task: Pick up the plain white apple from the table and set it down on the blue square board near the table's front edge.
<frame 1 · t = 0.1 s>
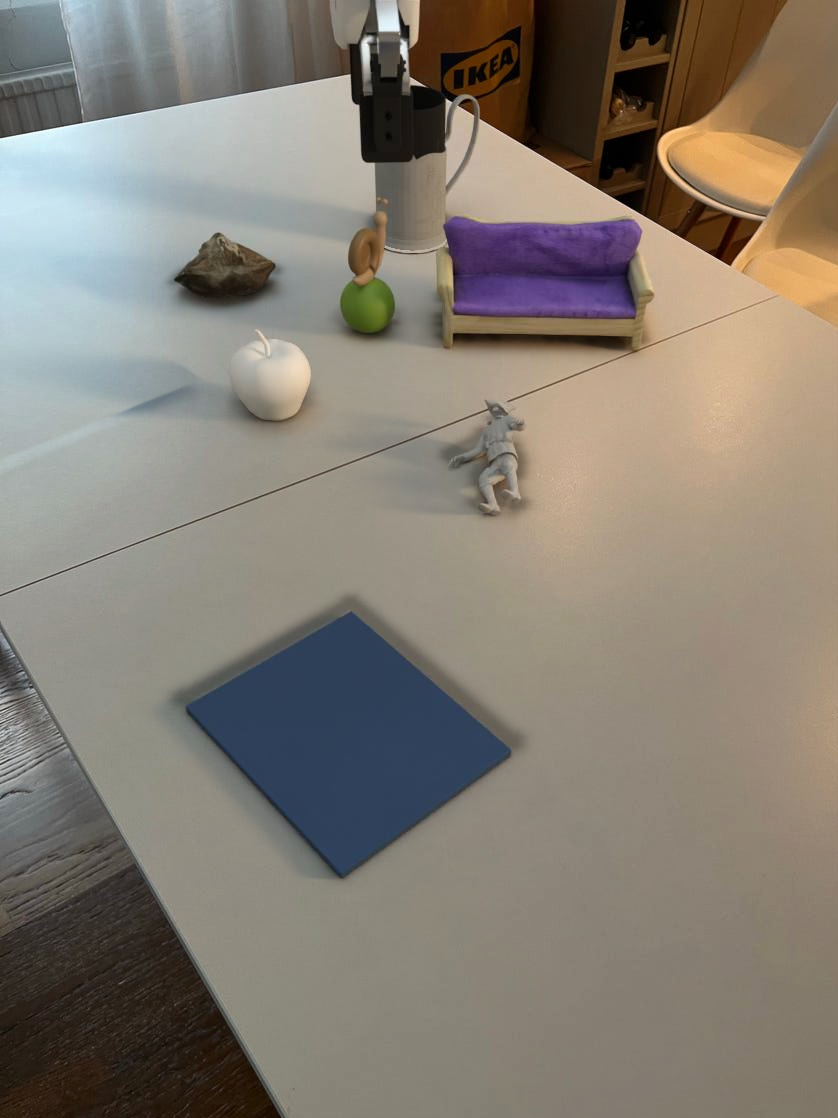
hand: (380, 130, 68), 28 cm above the table, tool pointing down, fingers open, 9 cm apart
toy sofa: (537, 331, 106), on the table
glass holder: (428, 231, 121), on the table
snail figurine: (371, 328, 105), on the table
blue square board: (347, 733, 69), on the table
dark brown rough lump: (229, 292, 109), on the table
plain white apple: (274, 411, 94), on the table
soldier figure: (496, 477, 89), on the table
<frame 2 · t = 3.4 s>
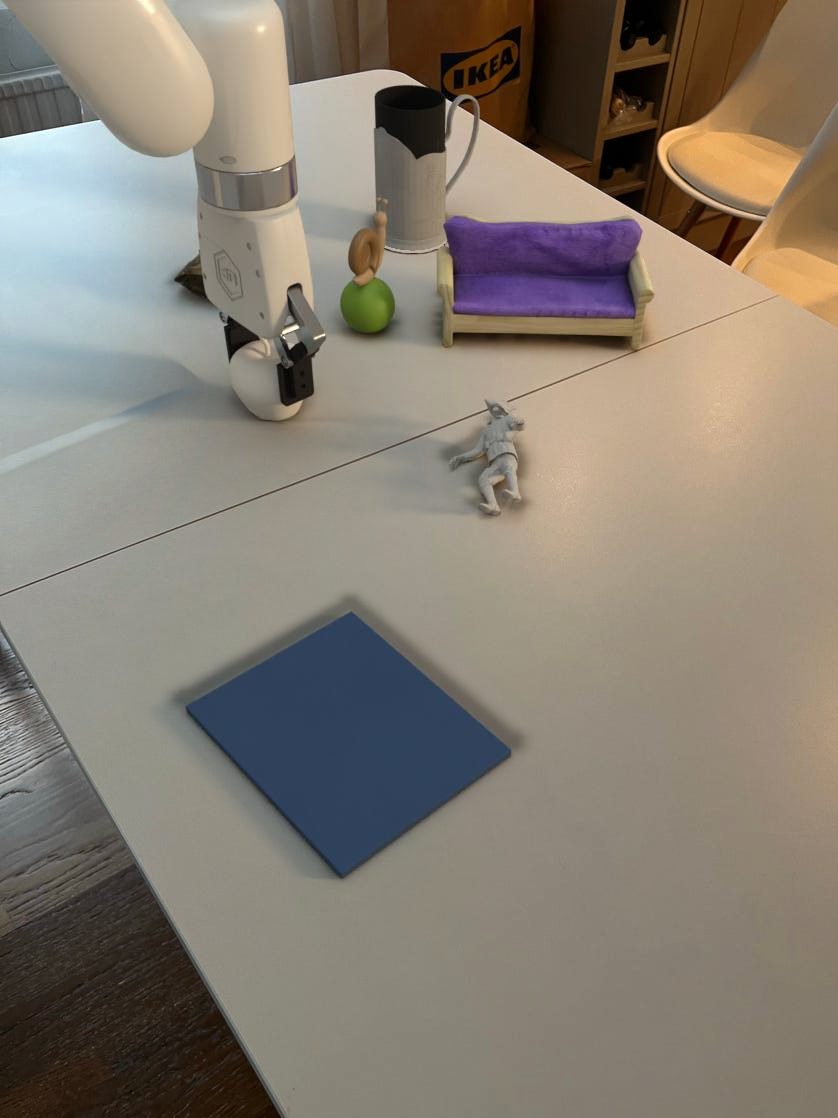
hand: (271, 379, 92), 3 cm above the table, tool pointing down, fingers closed on plain white apple, 7 cm apart
plain white apple: (274, 411, 94), on the table, touching gripper
everything else where it was.
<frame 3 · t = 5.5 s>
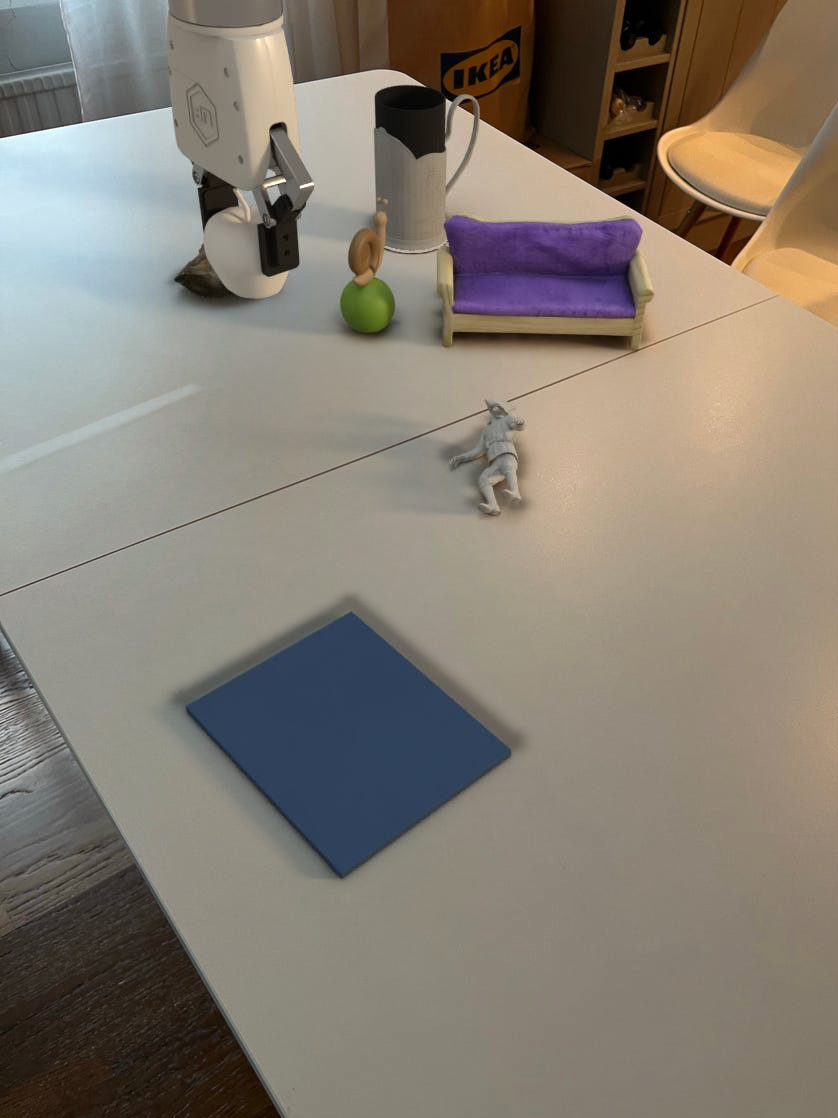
hand: (251, 250, 82), 16 cm above the table, tool pointing down, fingers closed on plain white apple, 7 cm apart
plain white apple: (254, 291, 84), point 12 cm above the table, touching gripper
everything else where it was.
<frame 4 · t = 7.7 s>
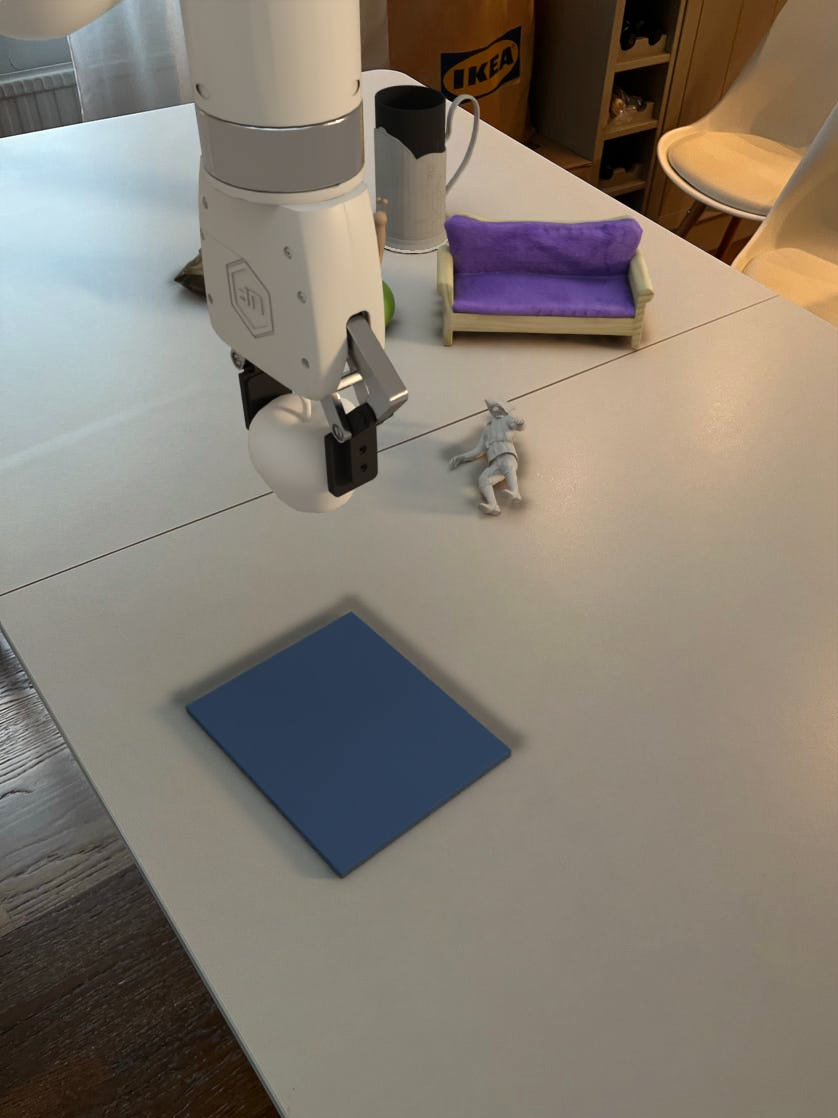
hand: (310, 452, 61), 18 cm above the table, tool pointing down, fingers closed on plain white apple, 7 cm apart
plain white apple: (314, 497, 63), point 14 cm above the table, touching gripper
everything else where it was.
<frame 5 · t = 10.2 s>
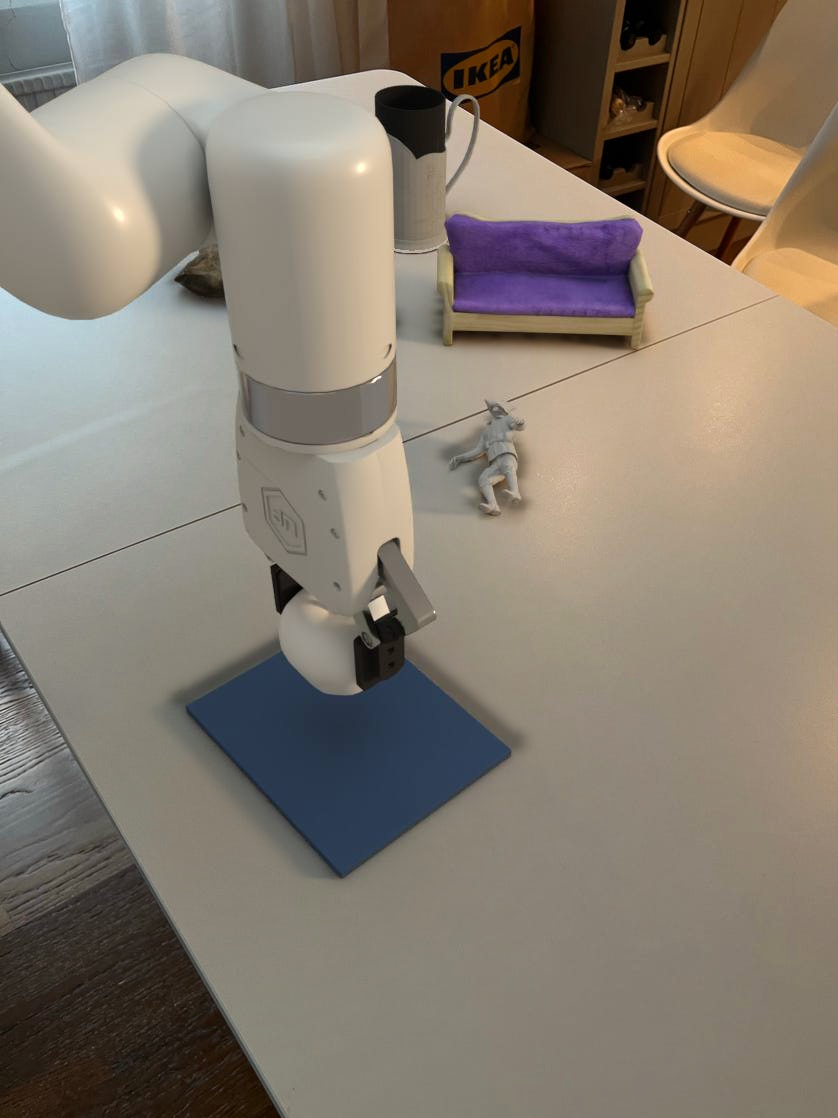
hand: (339, 638, 62), 9 cm above the table, tool pointing down, fingers closed on plain white apple, 7 cm apart
plain white apple: (342, 675, 65), point 6 cm above the table, touching gripper
everything else where it was.
when the fingers open (4 cm above the table, at t = 12.0 s): plain white apple stays where it is, resting on blue square board.
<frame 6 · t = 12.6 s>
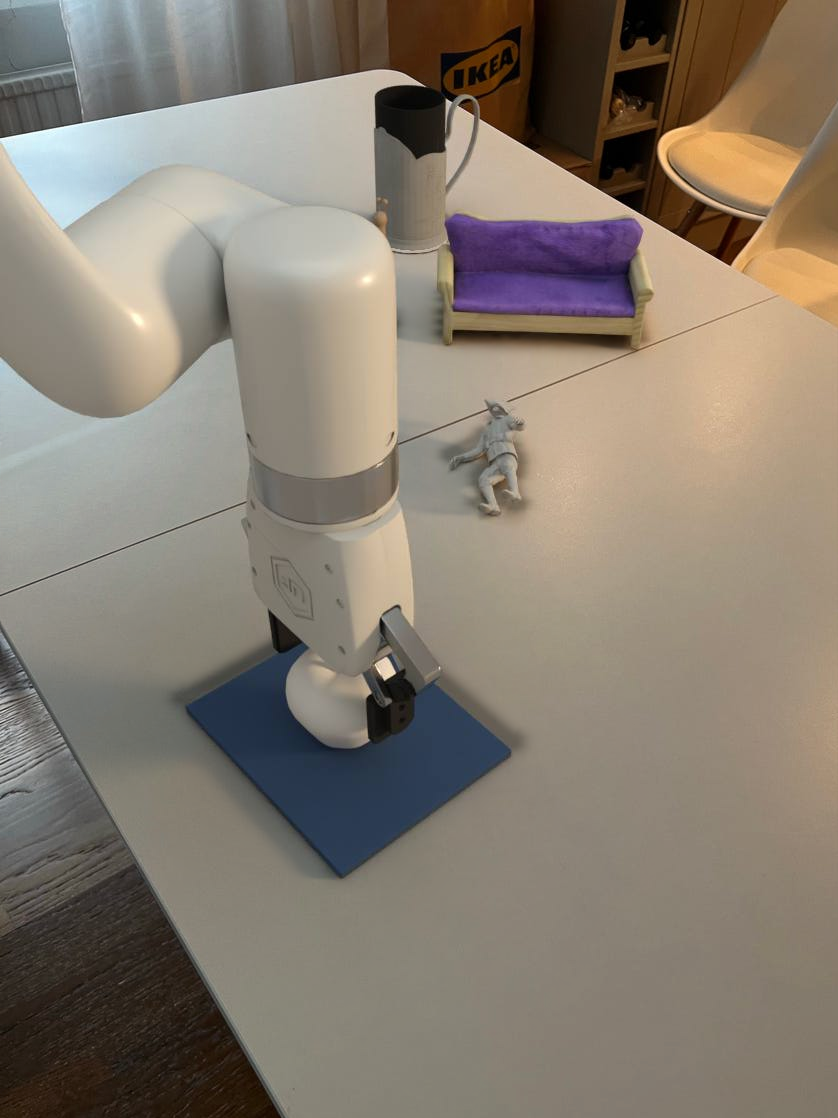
hand: (342, 684, 65), 5 cm above the table, tool pointing down, fingers open, 9 cm apart
plain white apple: (345, 728, 69), resting on blue square board
everything else where it was.
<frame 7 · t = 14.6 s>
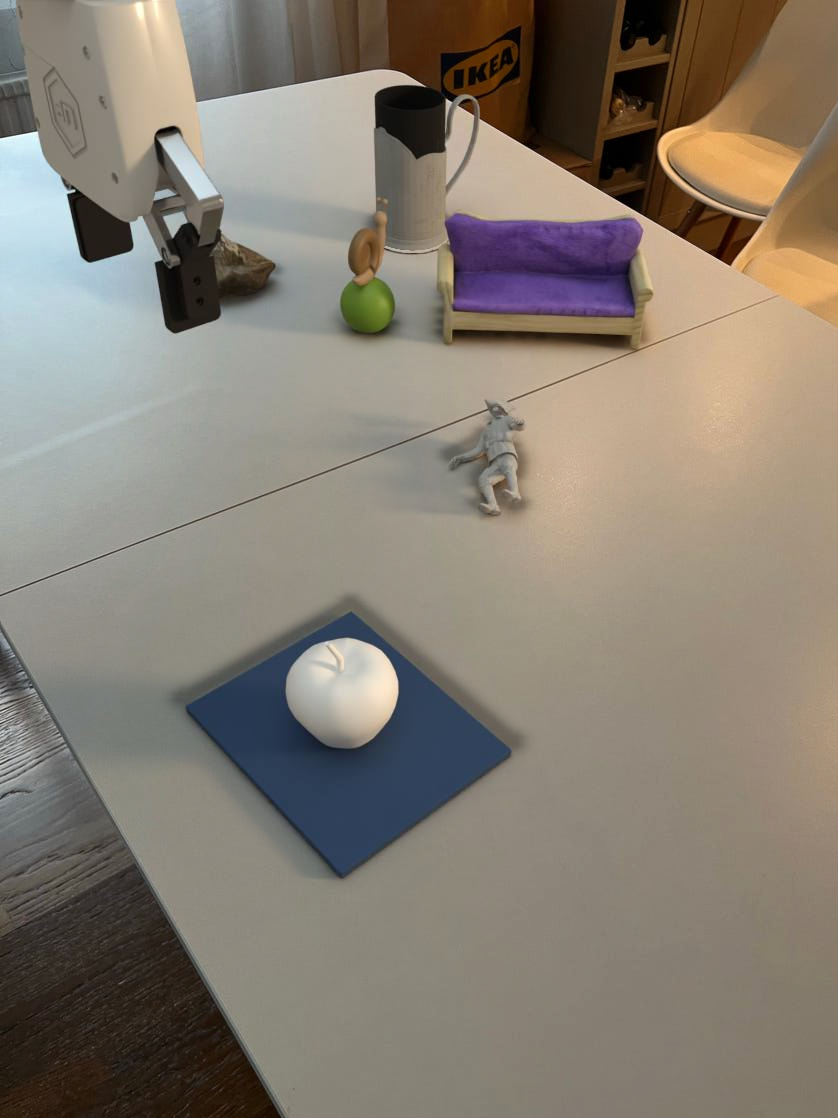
hand: (149, 288, 60), 24 cm above the table, tool pointing down, fingers open, 9 cm apart
nothing on the table moved.
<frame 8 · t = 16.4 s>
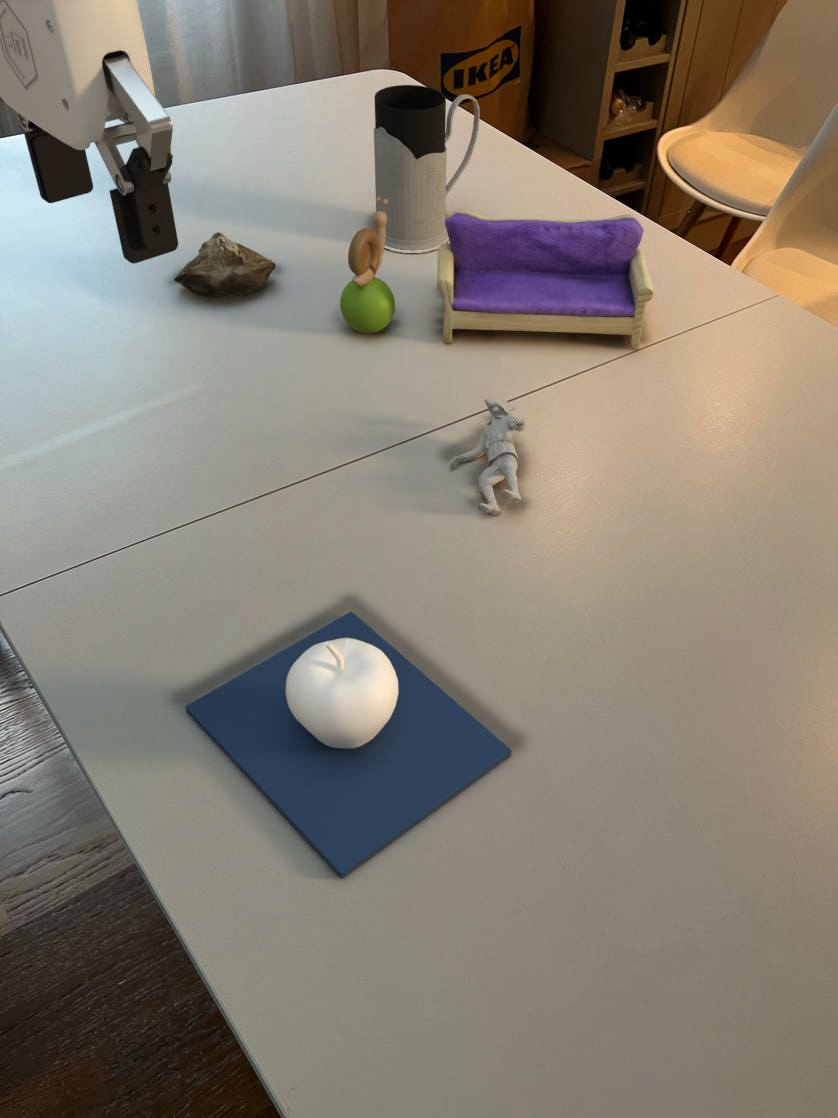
hand: (108, 224, 61), 26 cm above the table, tool pointing down, fingers open, 9 cm apart
nothing on the table moved.
at the end: plain white apple inside the target area on the blue square board (0.1 cm from its centre), point 0.4 cm above the blue square board's base; plain white apple moved 38.4 cm from its start; the gripper is holding nothing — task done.
